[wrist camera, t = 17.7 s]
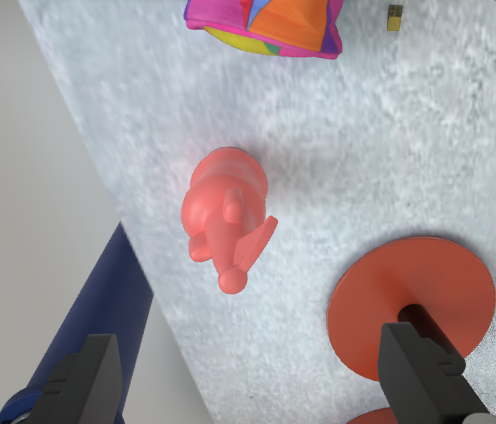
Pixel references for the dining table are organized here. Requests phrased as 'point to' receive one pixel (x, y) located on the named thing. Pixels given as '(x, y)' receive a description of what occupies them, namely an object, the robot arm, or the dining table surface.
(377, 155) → the dining table surface
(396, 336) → the robot arm
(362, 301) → the lid
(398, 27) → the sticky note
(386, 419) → the pan
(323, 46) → the pencil case
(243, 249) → the figurine
